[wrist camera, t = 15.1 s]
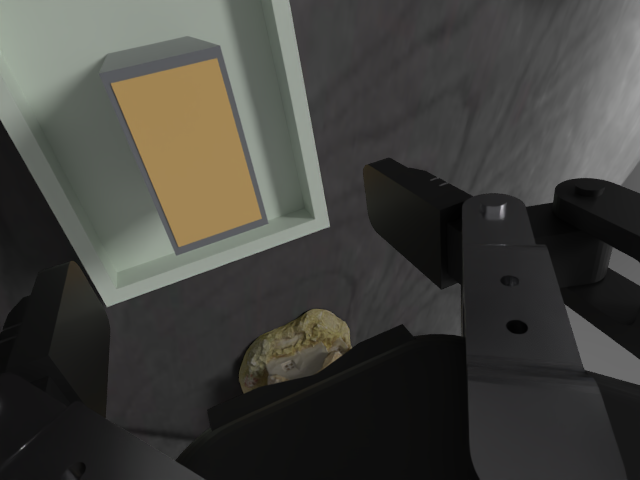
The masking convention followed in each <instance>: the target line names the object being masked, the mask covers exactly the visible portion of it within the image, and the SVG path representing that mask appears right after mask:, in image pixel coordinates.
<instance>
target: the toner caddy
mask: <svg viewBox="0 0 640 480" xmlns="http://www.w3.org/2000/svg"><path fill="white" fill-rule="evenodd" d="M99 75H100V78H101V80H102V82H103V85H104V87H105V89H106V92H107V94H108V97H109V99H110V101H111V104H112V106H113V108H114V111H115V113H116V115H117V118H118V120H119V122H120V125H121V127H122V129H123V132H124V134H125V137H126V139H127V141H128V144H129V146H130V148H131V151H132V153H133V155H134V158H135V160H136V162H137V165H138V167H139V169H140V172H141V174H142V177H143V179H144V181H145V184H146V186H147V188H148V191H149V193H150V195H151V198H152V200H153V202H154V205H155V207H156V209H157V212H158V214H159V217H160V219H161V221H162V224H163V226H164V228H165V231H166V233H167V235H168V238H169V240H170V242H171V245H172V247H173V249H174V252H175V254H176V256H177V255H180V254H183V253H186V252H189V251H192V250H194V249H197V248H200V247H203V246H206V245H209V244H212V243H215V242H217V241H220V240H223V239H226V238H229V237H232V236H235V235H238V234H240V233H243V232H246V231H249V230H252V229H255V228H258V227H260V226H263V225H266V224H269V223H268V220H267V216H266V212H265V209H264V205H263V201H262V197H261V194H260V190H259V186H258V183H257V179H256V175H255V172H254V168H253V164H252V161H251V157H250V153H249V150H248V146H247V142H246V139H245V135H244V131H243V128H242V124H241V120H240V117H239V113H238V109H237V106H236V102H235V98H234V95H233V91H232V87H231V84H230V80H229V76H228V73H227V69H226V65H225V62H224V58H223V54H222V51H221V47H220V45H217V44H213V43H210V42H207V41H203V40H200V39H197V38H193V37H190V36H185V37H181V38H176V39H172V40H167V41H163V42H158V43H154V44H149V45H145V46H140V47H136V48H131V49H127V50H122V51H118V52H113V53H109V54H107V56H106V58H105V61H104V63H103V65H102V67H101V70H100V72H99Z"/></svg>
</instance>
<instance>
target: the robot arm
mask: <svg viewBox="0 0 640 480" xmlns="http://www.w3.org/2000/svg"><path fill="white" fill-rule="evenodd" d="M363 177H364V185H365V193H366V201H367V210H368V216H369V219H370V222H371V224H372V226H373V228H374V230H375V231H376V232H377V233H378V234H379V235H380V236H381V237H382V238H384V239H385V240H386V241H387V242H388V243H389V244H390V245H392V246H393V247H394V248H395V249H396V250H397V251H398V252H399V253H401V254H402V255H403V256H404V257H405V258H406V259H407V260H408V261H410V262H411V263H412V264H413V265H414V266H415V267H416V268H417V269H419V270H420V271H421V272H422V273H423V274H424V275H425V276H427V277H428V278H429V279H430V280H431V281H432V282H433V283H434V284H436V285H437V286H438V287H439V288H440V289H441V290H442V289H444V288H447V287H449V286H451V285H454V284H456V283H459V284H460V285H461V336H456V335H446V334H429V335H420V336H414V337H413V336H412V334H411V333H410V332H409V331H408V330H407V329H406V328H405V327H404V325H403V324H402V325H399V326H397V327H395V328H392V329H390V330H388V331H386V332H383V333H381V334H379V335H376V336H374V337H372V338H370V339H367V340H365V341H363V342H360V343H358V344H357V345H356V346H354V347H353V348H351V349H350V350H349V351H347V352H346V353H345V354H343V355H342V356H341V357H339V358H338V359H336V360H335V361H334V362H332V363H331V364H330V365H328V366H327V367H325V368H324V369H323V370H321V371H320V372H318V373H316V374H314V375H311V376H307V377H302V378H297V379H293V380H288V381H284V382H279V383H274V384H270V385H265V386H261V387H258V388H256V389H253V390H251V391H249V392H246V393H244V394H242V395H240V396H237V397H235V398H233V399H230V400H228V401H226V402H224V403H221V404H219V405H217V406H214V407H212V408H210V409H208V410H207V411H208V416H209V421H210V426H211V427H210V428H209V429H208V430H206V431H205V432H204V433H202V434H201V435H200V436H199V437H198V438H197V439H195V440H194V441H193V442H192V443H191V444H190V445H189V446H188V447H187V448H186V449H185V450H184V451H183V452H182V453H181V454H180V455H179V457H178V458H177V459H176V460H175V461H174V460H173V459H171V458H170V457H168V456H166V455H165V454H163V453H161V452H160V451H158V450H157V449H155V448H153V447H152V446H150V445H148V444H147V443H145V442H144V441H142V440H140V439H139V438H137V437H135V436H134V435H132V434H131V433H129V432H127V431H126V430H124V429H122V428H121V427H119V426H118V425H116V424H114V423H113V422H111V421H109V420H108V419H106V401H107V382H108V363H109V344H110V325H109V320H108V317H107V314H106V312H105V310H104V308H103V306H102V304H101V303H100V301H99V299H98V298H97V296H96V294H95V292H94V291H93V289H92V287H91V286H90V284H89V282H88V280H87V279H86V277H85V275H84V274H83V272H82V270H81V269H80V267H79V266H78V264H77V263H76V262H74V261H70V262H67V263H64V264H61V265H58V266H54V267H51V268H48V269H45V270H42V271H40V272H39V273H38V276H37V279H36V282H35V285H34V287H33V290H32V293H31V295H30V296H27V297H24V298H22V299H21V300H20V302H19V303H18V304H17V305H16V306H15V307H14V308H13V309H12V310H11V312H10V313H9V314H8V316H7V319H6V321H5V324H4V326H3V331H2V332H1V334H0V480H640V385H637V384H633V383H629V382H626V381H622V380H619V379H615V378H612V377H608V376H604V375H601V374H597V373H593V372H590V371H586V370H584V368H583V364H582V362H581V358H580V355H579V351H578V348H577V345H576V341H575V338H574V335H573V331H572V328H571V325H570V321H569V318H568V315H567V311H566V308H565V305H567V306H568V307H569V308H571V309H572V310H573V311H575V312H576V313H578V314H579V315H580V316H582V317H583V318H584V319H586V320H587V321H588V322H590V323H591V324H593V325H594V326H595V327H597V328H598V329H599V330H601V331H602V332H603V333H605V334H606V335H608V336H609V337H610V338H612V339H613V340H614V341H616V342H617V343H618V344H620V345H621V346H622V347H624V348H625V349H626V350H628V351H629V352H631V353H632V354H633V355H635V356H636V357H637V358H639V359H640V286H639V285H637V284H635V283H634V282H632V281H630V280H629V279H627V278H625V277H623V276H622V275H620V274H618V273H617V272H615V271H613V270H611V269H610V268H608V265H609V260H610V256H611V252H612V248H613V247H614V248H616V249H618V250H619V251H621V252H623V253H625V254H627V255H629V256H631V257H633V258H634V259H636V260H638V261H639V262H640V193H637V192H635V191H632V190H630V189H627V188H625V187H622V186H620V185H617V184H615V183H612V182H609V181H605V180H600V179H592V178H578V179H571V180H567V181H564V182H561V183H560V184H558V185H557V186H556V188H555V193H554V200H553V203H547V204H541V205H535V206H529V207H526V206H525V204H524V203H523V202H522V201H521V200H520V199H518V198H516V197H513V196H510V195H506V194H498V193H489V194H481V195H477V196H474V197H473V196H471V195H470V194H468V193H466V192H464V191H462V190H460V189H458V188H456V187H455V186H453V185H451V184H447V183H446V182H445V181H443V180H442V179H440V178H439V179H437V177H436V176H434V175H432V174H430V173H428V172H427V171H423V170H419V169H414V168H407V167H406V166H404V165H402V164H400V163H398V162H397V161H395V160H393V159H391V158H386V159H383V160H380V161H377V162H374V163H371V164H368V165H365V167H364V169H363ZM564 304H565V305H564Z"/></svg>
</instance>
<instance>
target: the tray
mask: <svg viewBox="0 0 640 480" xmlns="http://www.w3.org/2000/svg"><path fill="white" fill-rule="evenodd" d="M185 36H190V37H193V38H197V39H200V40H203V41H207V42H210V43H213V44H217V45H220V47H221V51H222V54H223V58H224V62H225V65H226V69H227V73H228V76H229V80H230V84H231V87H232V91H233V95H234V98H235V102H236V106H237V109H238V113H239V117H240V120H241V124H242V128H243V131H244V135H245V139H246V142H247V146H248V150H249V153H250V157H251V161H252V164H253V168H254V172H255V175H256V179H257V183H258V186H259V190H260V194H261V197H262V201H263V205H264V209H265V212H266V216H267V220H268V223H269V224H266V225H263V226H260V227H258V228H255V229H252V230H249V231H246V232H243V233H240V234H238V235H235V236H232V237H229V238H226V239H223V240H220V241H217V242H215V243H212V244H209V245H206V246H203V247H200V248H197V249H194V250H192V251H189V252H186V253H183V254H180V255H177V256H176V254H175V252H174V249H173V247H172V245H171V242H170V240H169V238H168V235H167V233H166V231H165V228H164V226H163V224H162V221H161V219H160V217H159V214H158V212H157V209H156V207H155V205H154V202H153V200H152V198H151V195H150V193H149V191H148V188H147V186H146V184H145V181H144V179H143V177H142V174H141V172H140V169H139V167H138V165H137V162H136V160H135V158H134V155H133V153H132V151H131V148H130V146H129V144H128V141H127V139H126V137H125V134H124V132H123V129H122V127H121V125H120V122H119V120H118V118H117V115H116V113H115V111H114V108H113V106H112V104H111V101H110V99H109V97H108V94H107V92H106V89H105V87H104V85H103V82H102V80H101V78H100V75H99V72H100V70H101V67H102V65H103V63H104V61H105V58H106V56H107V54H109V53H113V52H118V51H122V50H127V49H131V48H136V47H140V46H145V45H149V44H154V43H158V42H163V41H167V40H172V39H176V38H181V37H185ZM0 120H1V122H2V123H3V125H4V127H5V129H6V130H7V132H8V134H9V136H10V137H11V139H12V141H13V143H14V144H15V146H16V148H17V150H18V151H19V153H20V155H21V157H22V158H23V160H24V162H25V164H26V165H27V167H28V169H29V171H30V173H31V174H32V176H33V178H34V180H35V181H36V183H37V185H38V187H39V188H40V190H41V192H42V194H43V195H44V197H45V199H46V201H47V202H48V204H49V206H50V208H51V209H52V211H53V213H54V215H55V216H56V218H57V220H58V222H59V224H60V225H61V227H62V229H63V231H64V232H65V234H66V236H67V238H68V239H69V241H70V243H71V245H72V246H73V248H74V250H75V252H76V253H77V255H78V257H79V259H80V260H81V262H82V264H83V266H84V267H85V269H86V271H87V273H88V275H89V276H90V278H91V280H92V282H93V283H94V285H95V287H96V289H97V290H98V292H99V294H100V296H101V297H102V299H103V301H104V303H105V304H106V306H107V307H108V306H111V305H114V304H117V303H119V302H122V301H125V300H128V299H130V298H133V297H136V296H139V295H141V294H144V293H147V292H150V291H153V290H155V289H158V288H161V287H164V286H166V285H169V284H172V283H175V282H178V281H180V280H183V279H186V278H189V277H191V276H194V275H197V274H200V273H202V272H205V271H208V270H211V269H214V268H216V267H219V266H222V265H225V264H227V263H230V262H233V261H236V260H238V259H241V258H244V257H247V256H250V255H252V254H255V253H258V252H261V251H263V250H266V249H269V248H272V247H275V246H277V245H280V244H283V243H286V242H288V241H291V240H294V239H297V238H299V237H302V236H305V235H308V234H311V233H313V232H316V231H319V230H322V229H324V228H327V227H330V224H329V219H328V213H327V208H326V202H325V197H324V191H323V186H322V180H321V175H320V169H319V164H318V158H317V153H316V147H315V141H314V136H313V130H312V125H311V119H310V114H309V108H308V103H307V97H306V92H305V86H304V81H303V75H302V70H301V64H300V59H299V53H298V48H297V42H296V37H295V31H294V25H293V20H292V14H291V9H290V3H289V0H0Z"/></svg>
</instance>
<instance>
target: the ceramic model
mask: <svg viewBox="0 0 640 480" xmlns="http://www.w3.org/2000/svg"><path fill="white" fill-rule="evenodd" d="M351 348H352V347H351V345H350V330H349V328H348V326H347V325H346V323H345V322H344V321H341V319H340V318H338V317H336V316H335V315H334V314H333V313H331V312H329V311H327V310H323V309H312V310H309V311H307V312H306V313H305V314H303V315H302V316H300V317H298V318H297V319H295V320H294V321H291V322H289V323H288V324H286V325H284V326H282V327H279V328H278V329H274V330H272V331H270V332H267V333H265V334H263V335H261V336H259V337H258V338H257V339H256V340H255V341H254V342H253V343H252V345H251V346H250V347H249V348H248V350H247V352H246V353H245V356H244V359H243V361H242V364H241V367H240V371H239V382H240V384H241V388H242V390H243V393H246V392H249V391H251V390H253V389H256V388H258V387H261V386H265V385H270V384H274V383H279V382H284V381H288V380H293V379H297V378H302V377H307V376H311V375H314V374H316V373H318V372H320V371H321V370H323V369H324V368H325V367H327V366H328V365H330V364H331V363H332V362H334V361H335V360H336V359H338V358H339V357H341V356H342V355H343V354H345V353H346V352H347V351H349V350H350V349H351Z"/></svg>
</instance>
